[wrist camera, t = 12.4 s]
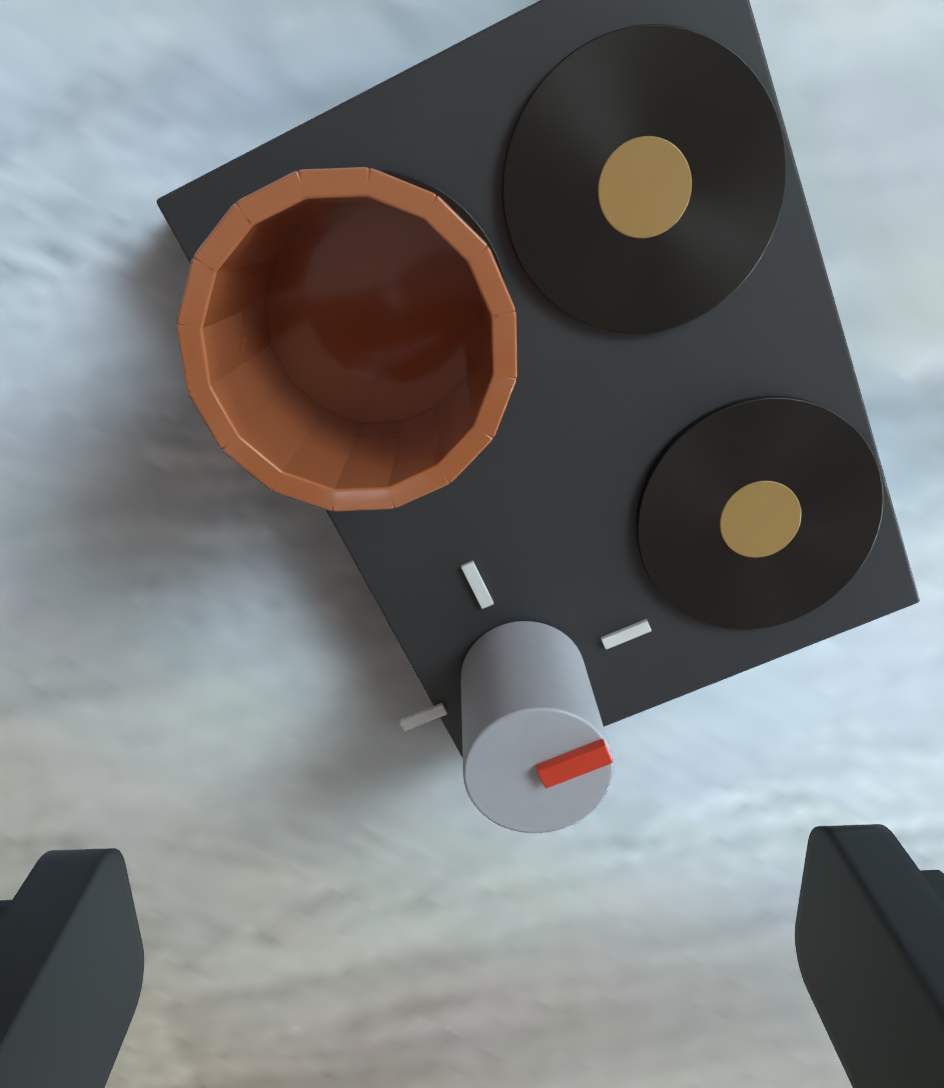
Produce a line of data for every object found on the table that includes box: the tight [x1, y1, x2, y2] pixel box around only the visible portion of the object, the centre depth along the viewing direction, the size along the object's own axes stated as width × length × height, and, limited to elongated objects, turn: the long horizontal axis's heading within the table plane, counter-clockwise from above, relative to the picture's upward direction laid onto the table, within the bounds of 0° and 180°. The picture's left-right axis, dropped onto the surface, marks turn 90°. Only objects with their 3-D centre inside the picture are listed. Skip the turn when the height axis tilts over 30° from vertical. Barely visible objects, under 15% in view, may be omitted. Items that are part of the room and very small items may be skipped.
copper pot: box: [177, 167, 517, 511], centre depth 17 cm, size 6×6×6 cm
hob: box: [157, 0, 920, 758], centre depth 23 cm, size 15×19×3 cm
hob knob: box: [461, 621, 613, 833], centre depth 22 cm, size 4×4×5 cm
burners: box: [378, 24, 883, 629], centre depth 22 cm, size 14×16×1 cm
